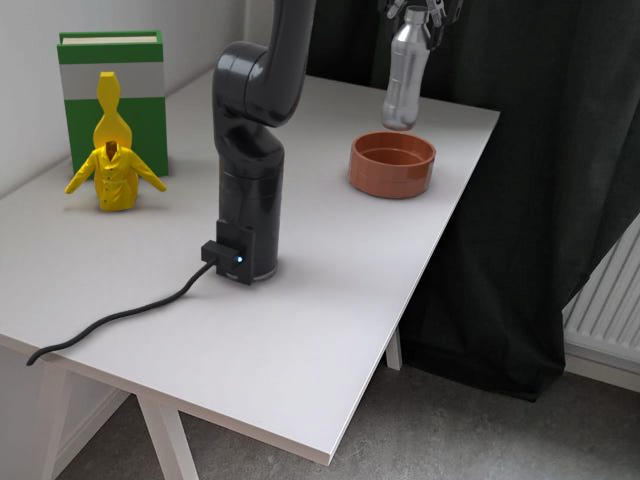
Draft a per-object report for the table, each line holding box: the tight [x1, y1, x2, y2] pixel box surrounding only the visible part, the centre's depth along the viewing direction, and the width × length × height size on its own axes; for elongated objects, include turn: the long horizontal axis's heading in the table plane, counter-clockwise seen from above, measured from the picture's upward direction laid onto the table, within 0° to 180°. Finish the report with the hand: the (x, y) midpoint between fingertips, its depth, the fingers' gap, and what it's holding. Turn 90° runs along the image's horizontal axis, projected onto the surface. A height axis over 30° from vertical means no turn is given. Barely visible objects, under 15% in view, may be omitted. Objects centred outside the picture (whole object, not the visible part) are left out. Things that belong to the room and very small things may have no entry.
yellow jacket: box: [64, 72, 168, 212], centre depth 121 cm, size 18×8×22 cm, turn 93°
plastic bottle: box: [380, 5, 431, 132], centre depth 123 cm, size 6×7×20 cm
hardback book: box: [56, 29, 169, 180], centre depth 131 cm, size 18×7×24 cm, turn 96°
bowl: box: [347, 130, 437, 199], centre depth 134 cm, size 15×15×6 cm
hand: (411, 45), depth 120 cm, fingers closed on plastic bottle, 6 cm apart
